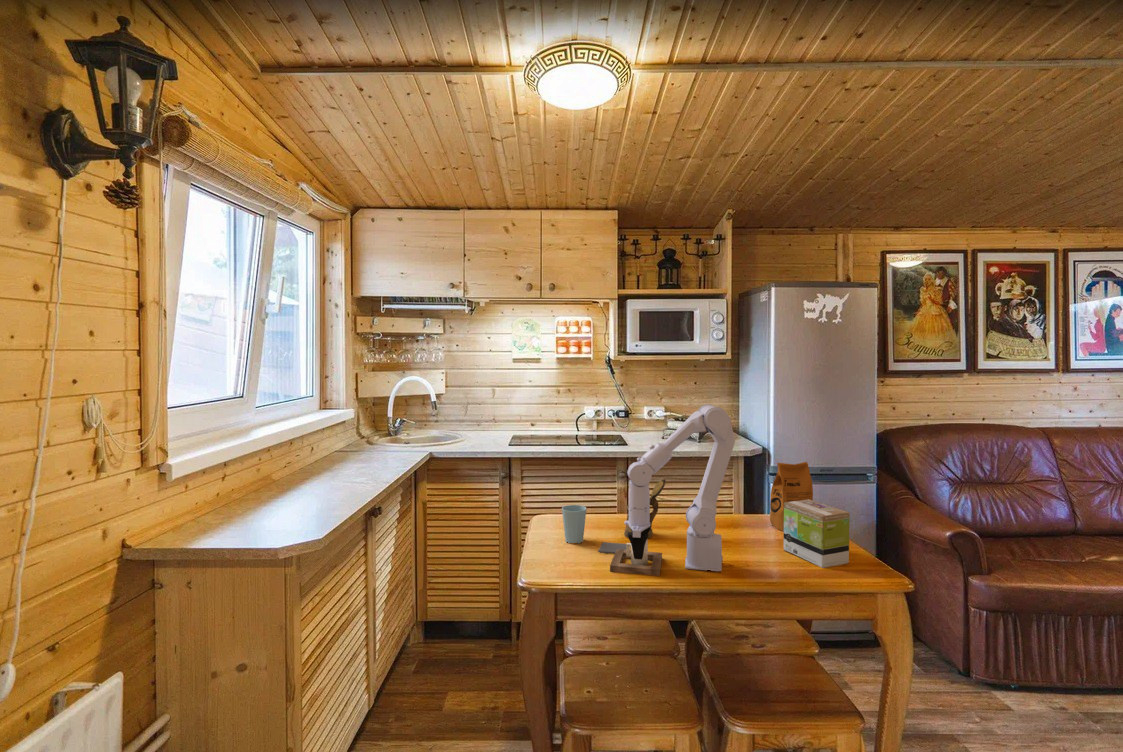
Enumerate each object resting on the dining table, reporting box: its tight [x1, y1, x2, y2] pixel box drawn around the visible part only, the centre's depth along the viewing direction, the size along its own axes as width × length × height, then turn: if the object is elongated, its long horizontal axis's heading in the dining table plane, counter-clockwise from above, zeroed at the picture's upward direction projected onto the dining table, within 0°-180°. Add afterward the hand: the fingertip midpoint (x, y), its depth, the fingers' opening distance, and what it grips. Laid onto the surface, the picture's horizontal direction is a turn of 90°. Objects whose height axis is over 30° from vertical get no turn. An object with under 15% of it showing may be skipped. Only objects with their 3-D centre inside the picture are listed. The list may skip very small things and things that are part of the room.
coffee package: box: [769, 461, 814, 532], centre depth 185 cm, size 10×12×22 cm
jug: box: [625, 538, 649, 566], centre depth 152 cm, size 6×5×6 cm
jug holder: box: [609, 549, 663, 577], centre depth 152 cm, size 13×13×2 cm
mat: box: [597, 541, 627, 555], centre depth 164 cm, size 8×8×1 cm
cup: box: [561, 504, 587, 544], centre depth 172 cm, size 8×8×10 cm
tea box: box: [783, 499, 851, 569], centre depth 157 cm, size 15×10×15 cm
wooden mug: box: [623, 478, 666, 539], centre depth 177 cm, size 9×14×18 cm, turn 95°
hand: (639, 555), depth 152 cm, fingers closed on jug, 5 cm apart
